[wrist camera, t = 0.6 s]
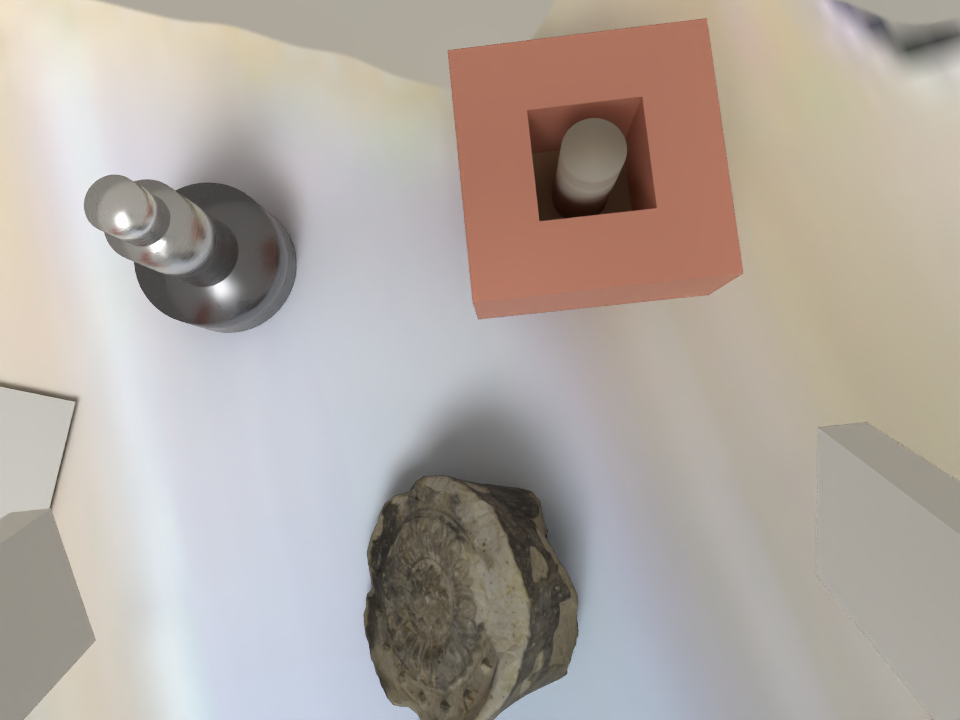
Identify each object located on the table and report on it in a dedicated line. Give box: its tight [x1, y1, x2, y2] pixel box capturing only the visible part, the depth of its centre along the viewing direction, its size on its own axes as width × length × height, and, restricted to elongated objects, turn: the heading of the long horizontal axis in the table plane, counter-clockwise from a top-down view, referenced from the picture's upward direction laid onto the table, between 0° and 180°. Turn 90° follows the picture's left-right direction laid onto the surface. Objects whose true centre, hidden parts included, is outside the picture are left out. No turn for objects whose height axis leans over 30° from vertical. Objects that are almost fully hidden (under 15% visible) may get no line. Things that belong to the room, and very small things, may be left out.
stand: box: [532, 118, 632, 221], centre depth 28 cm, size 7×7×10 cm
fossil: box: [364, 476, 578, 720], centre depth 28 cm, size 11×9×10 cm
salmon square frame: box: [448, 18, 743, 319], centre depth 26 cm, size 10×10×4 cm
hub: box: [84, 175, 296, 333], centre depth 28 cm, size 7×7×10 cm
